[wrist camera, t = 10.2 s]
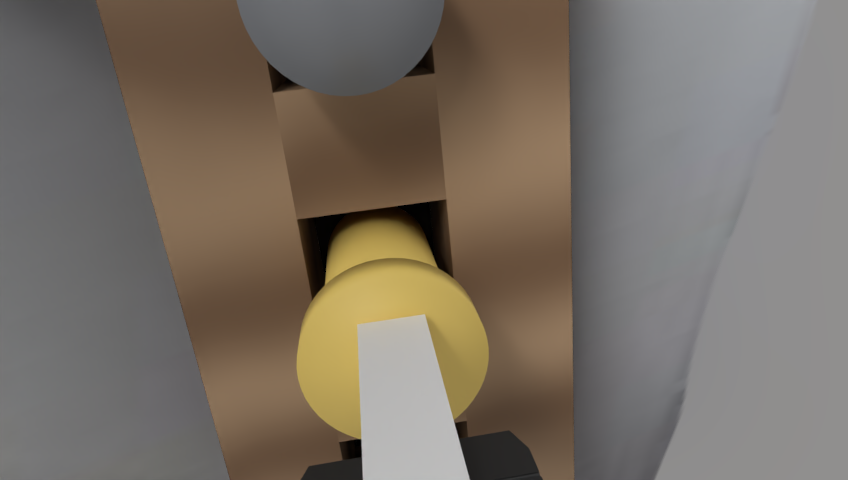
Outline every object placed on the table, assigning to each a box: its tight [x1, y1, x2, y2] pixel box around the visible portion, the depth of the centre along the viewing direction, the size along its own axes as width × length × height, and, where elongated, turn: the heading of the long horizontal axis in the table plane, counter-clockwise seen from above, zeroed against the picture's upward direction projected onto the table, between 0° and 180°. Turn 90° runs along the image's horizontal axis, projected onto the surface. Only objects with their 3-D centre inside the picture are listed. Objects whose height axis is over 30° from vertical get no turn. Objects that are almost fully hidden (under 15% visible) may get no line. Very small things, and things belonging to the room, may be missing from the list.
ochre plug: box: [297, 206, 489, 439], centre depth 17 cm, size 4×4×7 cm
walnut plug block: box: [96, 0, 574, 480], centre depth 20 cm, size 24×12×5 cm, turn 6°
